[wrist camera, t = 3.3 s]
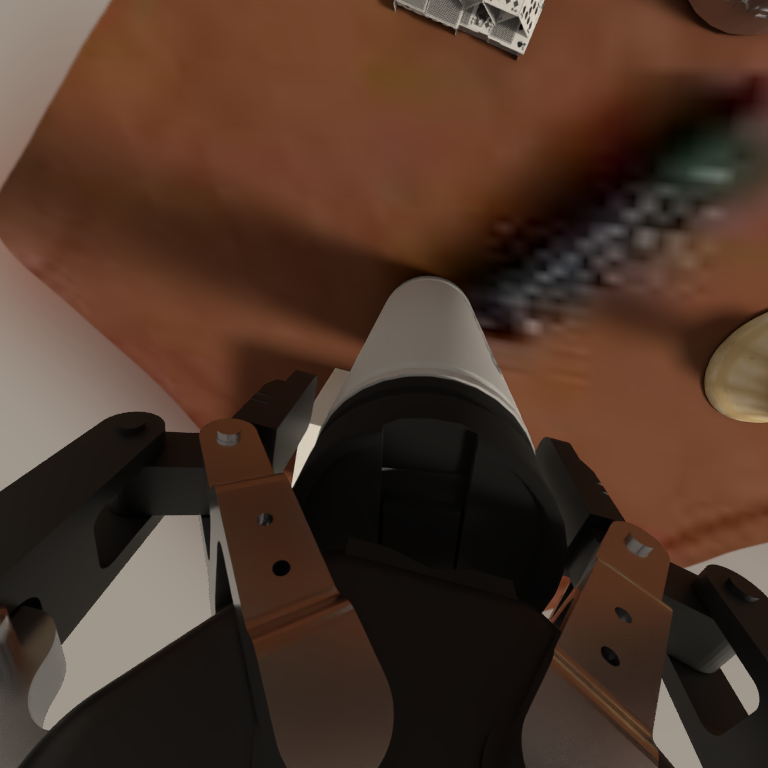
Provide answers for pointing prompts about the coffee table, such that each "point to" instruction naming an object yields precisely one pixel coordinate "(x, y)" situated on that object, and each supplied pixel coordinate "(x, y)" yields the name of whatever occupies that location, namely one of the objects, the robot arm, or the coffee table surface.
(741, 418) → the hand bell
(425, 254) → the coffee table surface
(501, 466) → the travel mug
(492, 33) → the house of cards
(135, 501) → the robot arm
